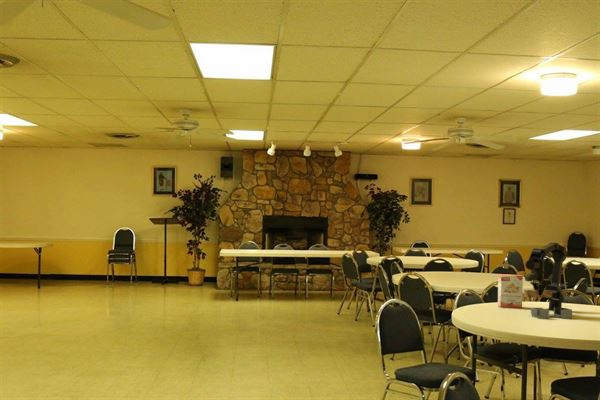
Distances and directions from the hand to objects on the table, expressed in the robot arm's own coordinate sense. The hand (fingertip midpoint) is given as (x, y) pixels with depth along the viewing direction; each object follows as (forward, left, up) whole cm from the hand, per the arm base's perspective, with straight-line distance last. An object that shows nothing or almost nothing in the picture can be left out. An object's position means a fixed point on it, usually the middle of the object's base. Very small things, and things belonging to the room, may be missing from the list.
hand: (538, 294), depth 338 cm
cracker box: (+6, -22, -11) cm, 26 cm away
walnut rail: (0, 0, -1) cm, 1 cm away
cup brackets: (0, +14, -11) cm, 18 cm away
